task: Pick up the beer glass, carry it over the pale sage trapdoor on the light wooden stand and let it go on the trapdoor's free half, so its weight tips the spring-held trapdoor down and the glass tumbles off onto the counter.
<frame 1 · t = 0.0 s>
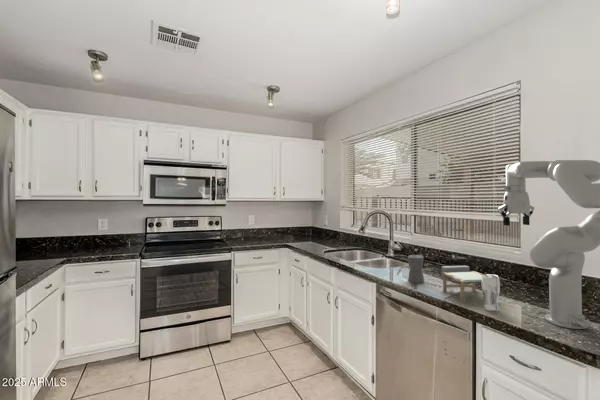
hand: (516, 225, 138), 37 cm above the worktop, tool pointing down, fingers open, 9 cm apart
trapdoor stand: (468, 296, 147), on the worktop
coffeepot: (417, 281, 175), on the worktop
trapdoor: (464, 275, 150), point 10 cm above the worktop, hinge at 0.0°
beer glass: (490, 309, 130), on the worktop
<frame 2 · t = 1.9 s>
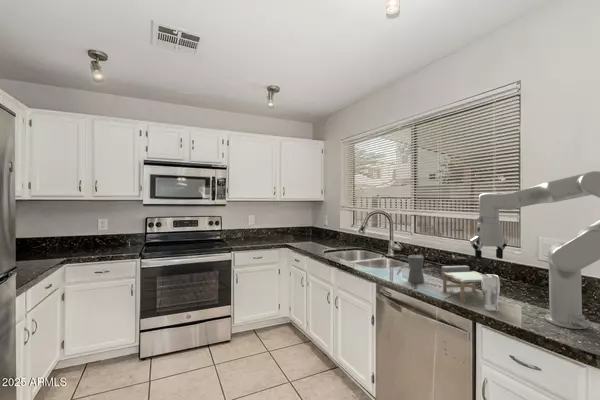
hand: (488, 258, 130), 23 cm above the worktop, tool pointing down, fingers open, 9 cm apart
nothing on the worktop moved.
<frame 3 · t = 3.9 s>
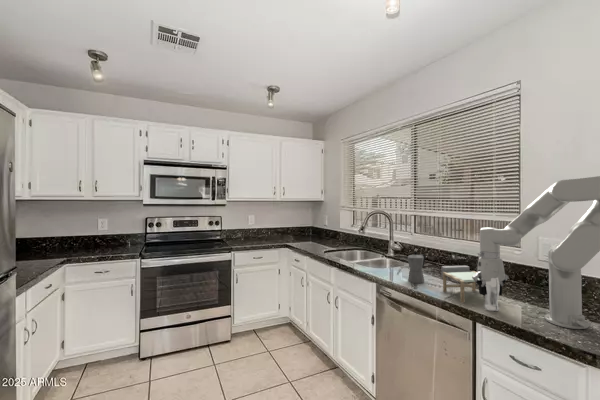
hand: (490, 294, 130), 7 cm above the worktop, tool pointing down, fingers closed on beer glass, 6 cm apart
beer glass: (490, 309, 130), on the worktop, touching gripper
everything else where it was.
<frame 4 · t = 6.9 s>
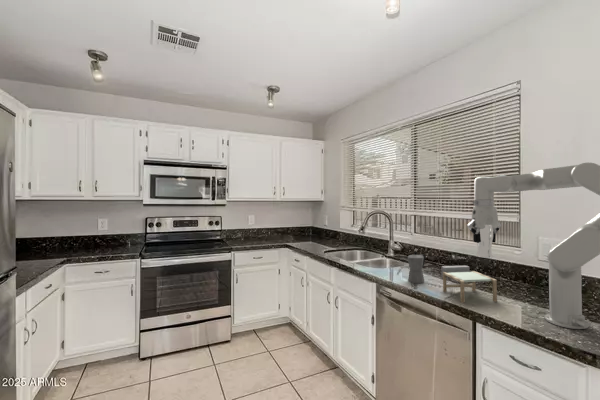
hand: (484, 241, 133), 30 cm above the worktop, tool pointing down, fingers closed on beer glass, 6 cm apart
beer glass: (484, 256, 133), point 23 cm above the worktop, touching gripper
everything else where it was.
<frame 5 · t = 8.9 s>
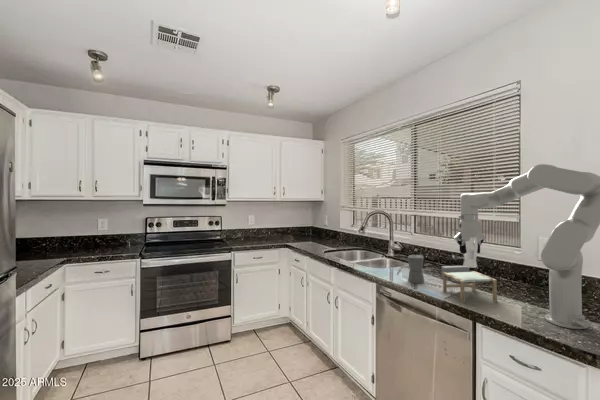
hand: (469, 252, 145), 23 cm above the worktop, tool pointing down, fingers closed on beer glass, 6 cm apart
beer glass: (470, 266, 145), point 16 cm above the worktop, touching gripper
everything else where it was.
when the fingers open (19 cm above the worktop, at t = 10.2 s): beer glass drops 7 cm, resting on trapdoor.
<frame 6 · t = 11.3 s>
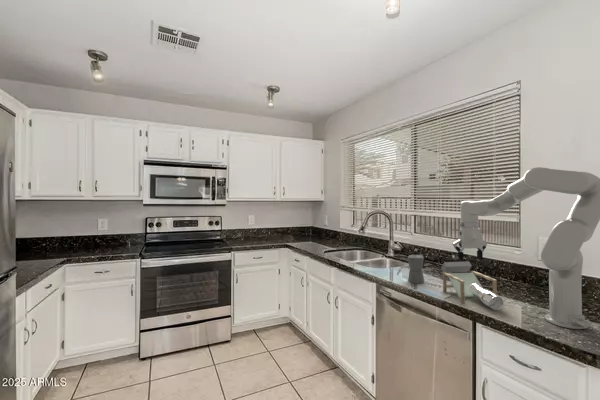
hand: (470, 259, 145), 19 cm above the worktop, tool pointing down, fingers open, 9 cm apart
trapdoor: (463, 279, 151), point 7 cm above the worktop, hinge at -38.3°, touching beer glass
beer glass: (474, 288, 143), point 5 cm above the worktop, touching trapdoor
everything else where it was.
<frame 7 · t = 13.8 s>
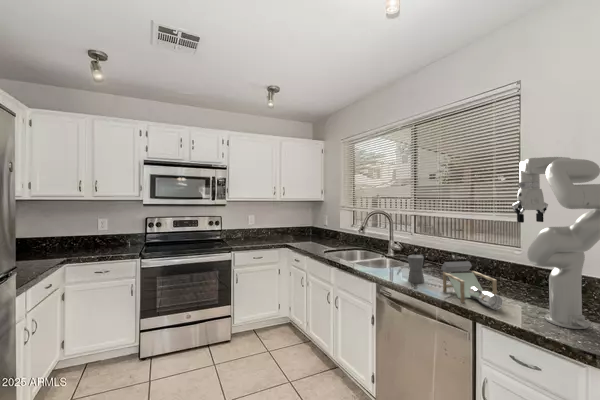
hand: (530, 222, 137), 38 cm above the worktop, tool pointing down, fingers open, 9 cm apart
trapdoor: (463, 280, 151), point 7 cm above the worktop, hinge at -42.3°, touching beer glass
beer glass: (473, 292, 144), point 3 cm above the worktop, touching trapdoor
everything else where it was.
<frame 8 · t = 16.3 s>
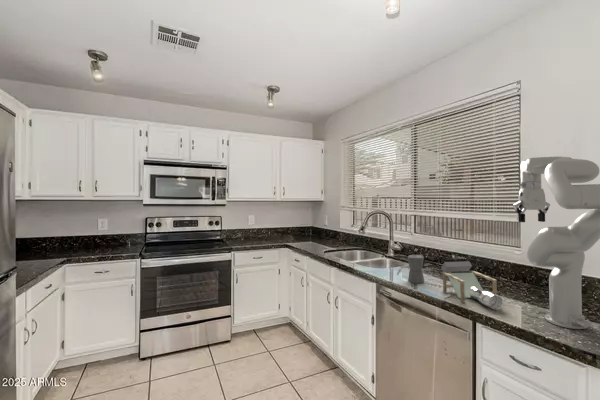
hand: (531, 221, 137), 38 cm above the worktop, tool pointing down, fingers open, 9 cm apart
nothing on the worktop moved.
at the end: beer glass inside the target area (4.9 cm from its centre), point 3.0 cm above the worktop; the gripper is holding nothing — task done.
